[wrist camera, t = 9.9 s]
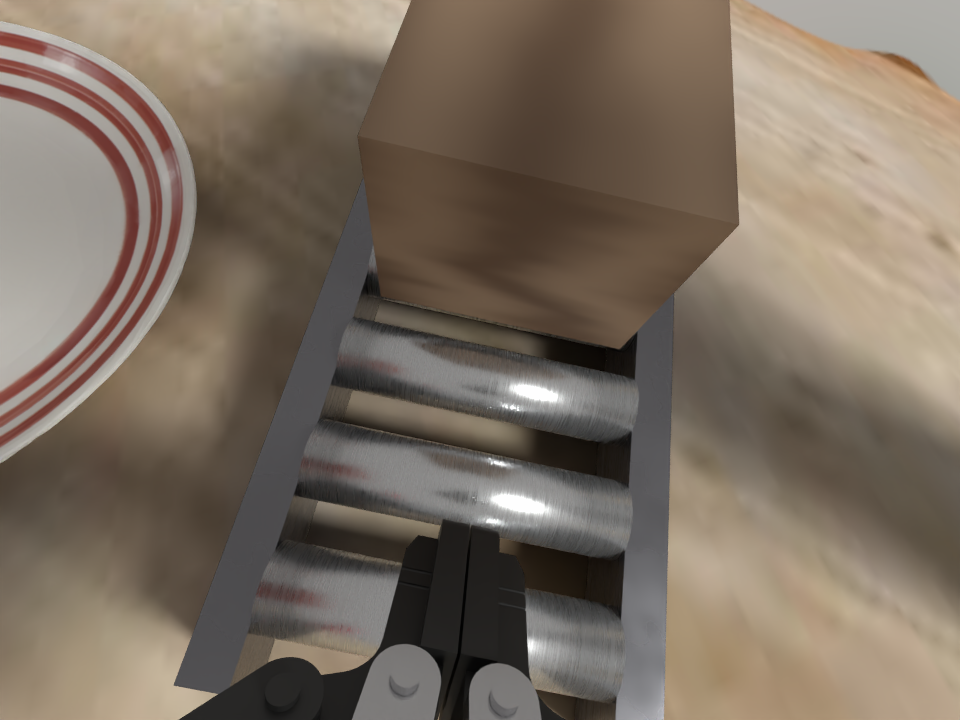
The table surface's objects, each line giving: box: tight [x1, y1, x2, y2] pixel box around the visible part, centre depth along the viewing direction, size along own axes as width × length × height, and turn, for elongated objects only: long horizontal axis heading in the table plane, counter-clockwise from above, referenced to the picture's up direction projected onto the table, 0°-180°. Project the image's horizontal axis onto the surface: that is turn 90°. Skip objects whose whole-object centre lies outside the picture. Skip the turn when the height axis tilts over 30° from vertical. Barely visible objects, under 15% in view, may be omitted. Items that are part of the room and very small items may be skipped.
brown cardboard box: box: [358, 0, 739, 349], centre depth 19 cm, size 10×14×8 cm
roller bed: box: [174, 177, 674, 720], centre depth 20 cm, size 15×30×9 cm, turn 169°
